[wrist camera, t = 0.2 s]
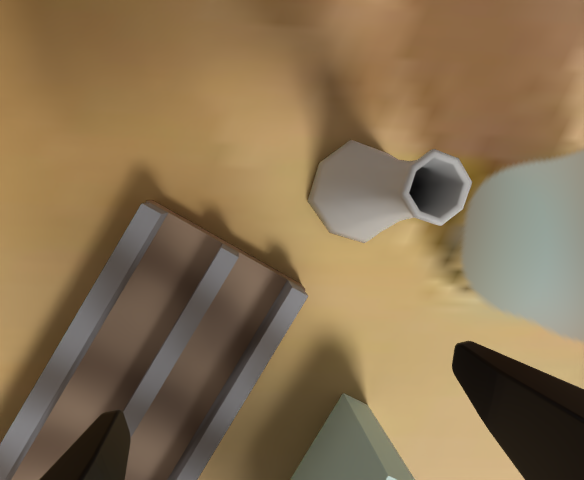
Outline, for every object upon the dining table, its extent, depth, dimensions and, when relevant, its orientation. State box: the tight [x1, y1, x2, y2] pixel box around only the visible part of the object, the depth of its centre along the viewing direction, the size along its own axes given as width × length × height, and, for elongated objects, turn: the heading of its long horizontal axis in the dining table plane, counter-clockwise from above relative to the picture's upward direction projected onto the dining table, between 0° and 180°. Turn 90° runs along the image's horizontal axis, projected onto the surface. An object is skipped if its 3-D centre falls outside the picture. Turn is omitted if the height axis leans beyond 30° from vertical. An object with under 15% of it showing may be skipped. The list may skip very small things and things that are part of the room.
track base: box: [0, 200, 308, 480], centre depth 21 cm, size 24×12×4 cm, turn 148°
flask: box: [308, 140, 472, 243], centre depth 19 cm, size 7×7×10 cm
